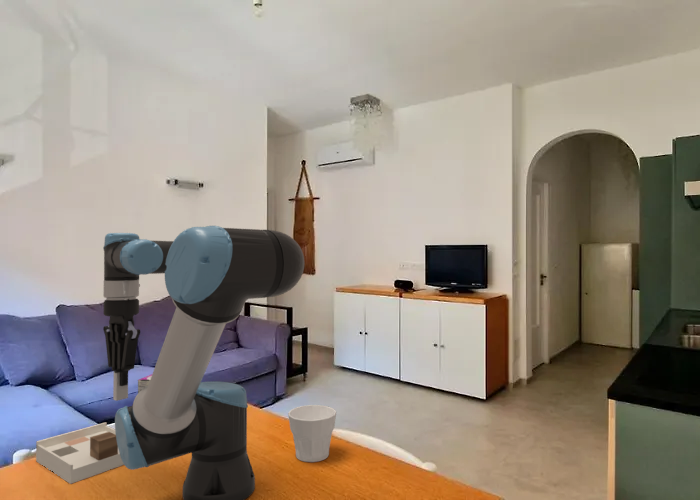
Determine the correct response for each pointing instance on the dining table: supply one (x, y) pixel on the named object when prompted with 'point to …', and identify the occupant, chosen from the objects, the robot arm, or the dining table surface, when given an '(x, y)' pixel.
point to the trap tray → (75, 454)
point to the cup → (312, 431)
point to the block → (103, 446)
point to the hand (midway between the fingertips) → (120, 398)
